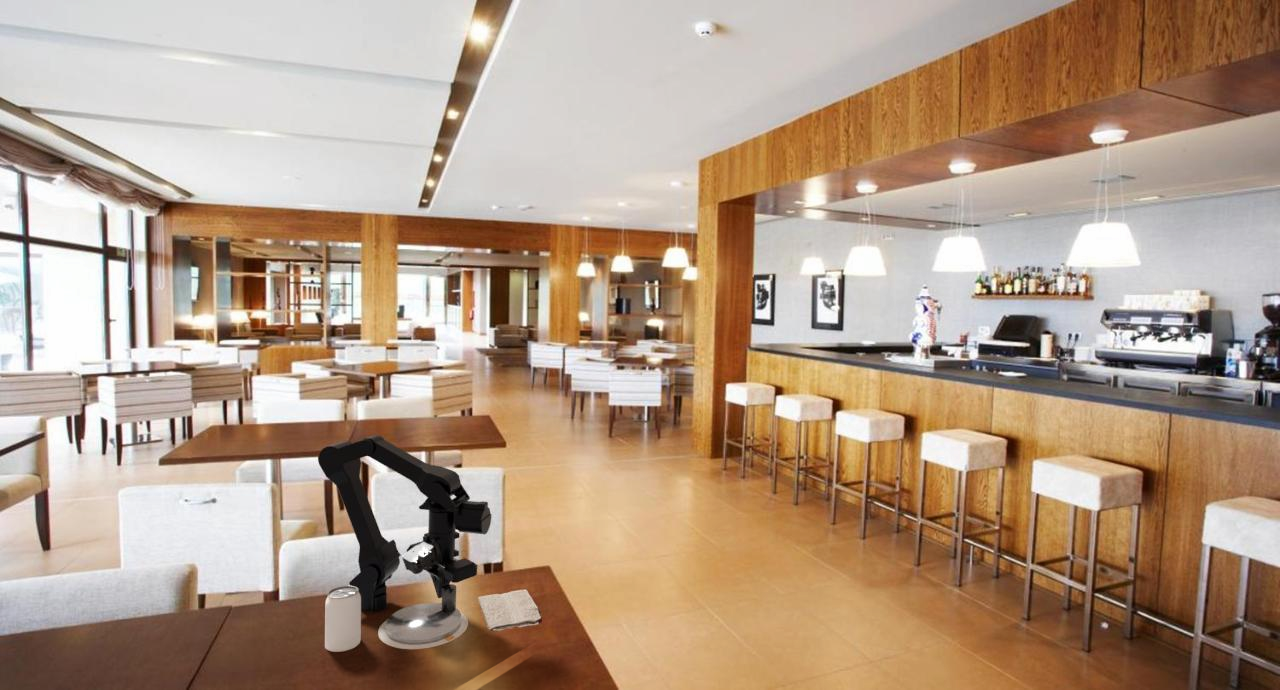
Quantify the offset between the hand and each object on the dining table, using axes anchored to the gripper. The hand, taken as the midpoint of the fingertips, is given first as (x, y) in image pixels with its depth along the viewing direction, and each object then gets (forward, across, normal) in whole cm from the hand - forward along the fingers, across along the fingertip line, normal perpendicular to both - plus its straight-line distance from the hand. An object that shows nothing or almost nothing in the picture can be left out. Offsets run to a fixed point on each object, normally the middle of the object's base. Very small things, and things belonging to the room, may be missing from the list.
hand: (440, 597), depth 144 cm
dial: (+3, +3, -6) cm, 8 cm away
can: (+5, -2, -21) cm, 21 cm away
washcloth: (+5, +10, +11) cm, 16 cm away
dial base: (+4, +4, -6) cm, 8 cm away
